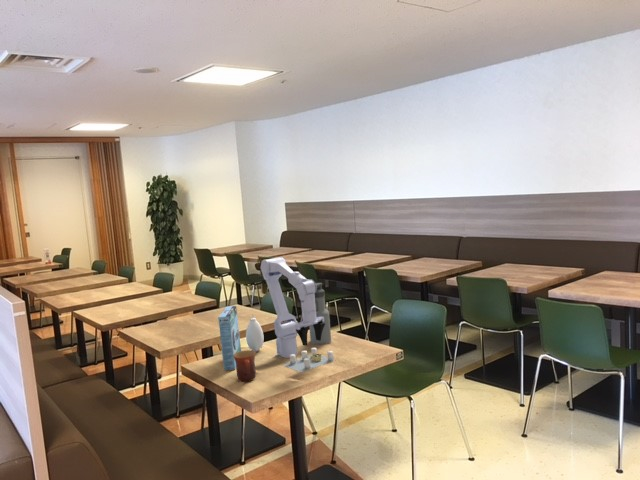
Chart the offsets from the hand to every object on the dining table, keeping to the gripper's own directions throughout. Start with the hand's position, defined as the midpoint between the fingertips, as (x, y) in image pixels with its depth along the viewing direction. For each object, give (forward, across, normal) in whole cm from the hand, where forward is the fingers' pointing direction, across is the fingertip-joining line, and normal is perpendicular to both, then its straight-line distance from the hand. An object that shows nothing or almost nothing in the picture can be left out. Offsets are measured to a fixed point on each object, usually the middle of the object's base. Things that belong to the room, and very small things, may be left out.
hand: (311, 342), depth 212 cm
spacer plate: (+10, 0, +3) cm, 10 cm away
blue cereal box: (+9, -17, +34) cm, 39 cm away
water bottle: (+10, +24, +20) cm, 33 cm away
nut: (+9, +4, +2) cm, 10 cm away
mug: (+10, -26, +10) cm, 30 cm away
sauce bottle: (+9, -2, +38) cm, 39 cm away
